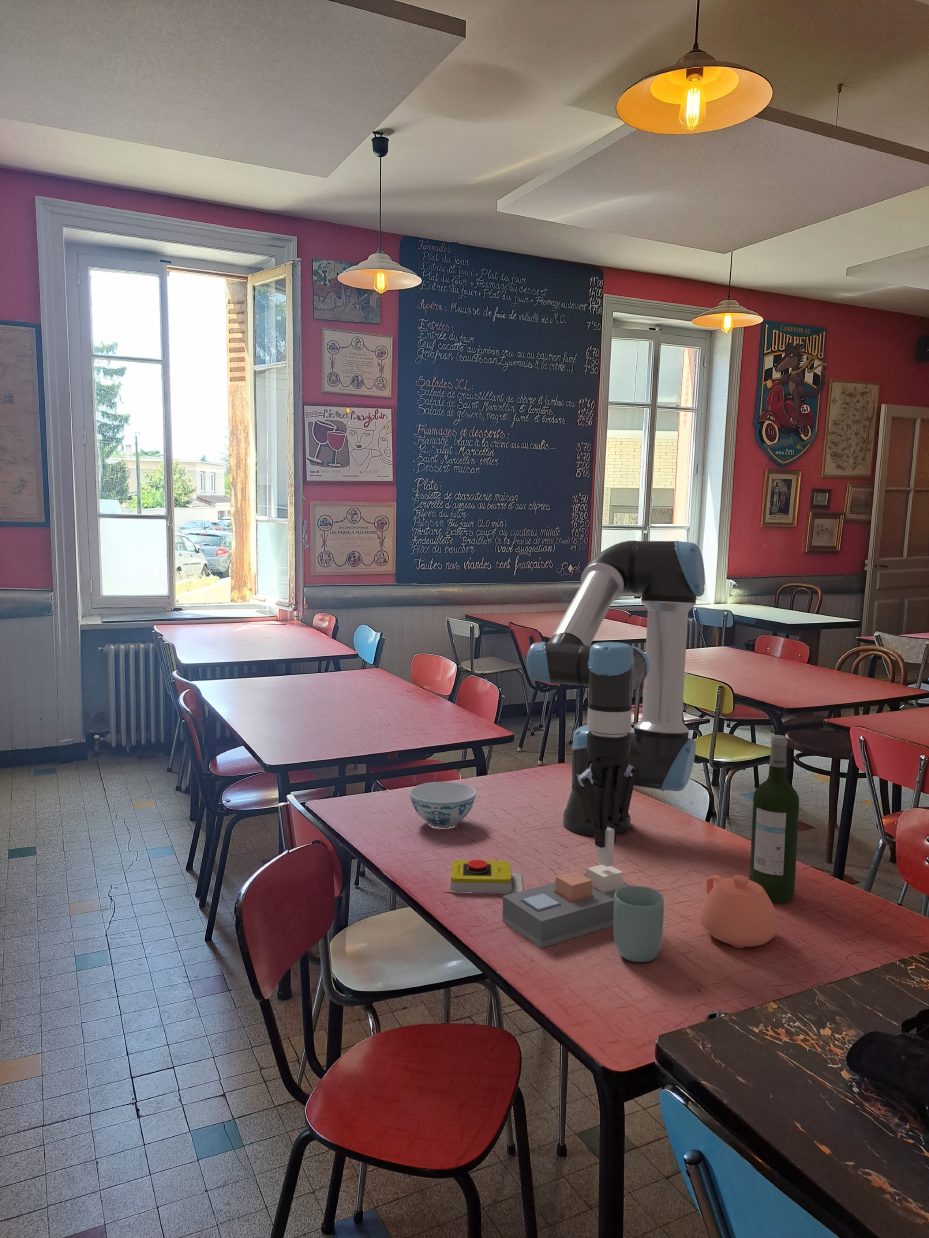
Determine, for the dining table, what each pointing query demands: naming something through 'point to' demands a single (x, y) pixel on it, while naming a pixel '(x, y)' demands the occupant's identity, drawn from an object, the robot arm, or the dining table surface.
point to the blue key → (540, 902)
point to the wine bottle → (775, 829)
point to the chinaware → (442, 802)
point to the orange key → (573, 886)
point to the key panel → (558, 915)
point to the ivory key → (605, 878)
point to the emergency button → (484, 877)
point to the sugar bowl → (738, 912)
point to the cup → (638, 922)
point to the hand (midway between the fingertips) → (604, 863)
